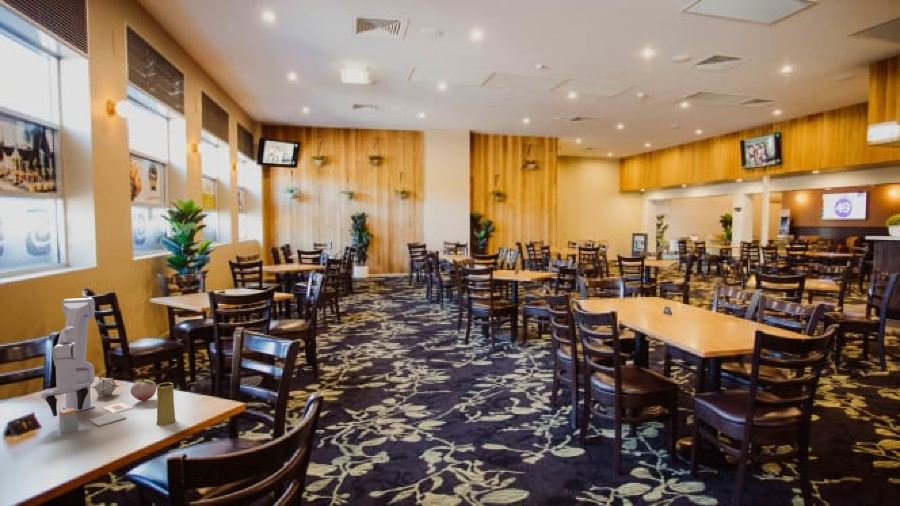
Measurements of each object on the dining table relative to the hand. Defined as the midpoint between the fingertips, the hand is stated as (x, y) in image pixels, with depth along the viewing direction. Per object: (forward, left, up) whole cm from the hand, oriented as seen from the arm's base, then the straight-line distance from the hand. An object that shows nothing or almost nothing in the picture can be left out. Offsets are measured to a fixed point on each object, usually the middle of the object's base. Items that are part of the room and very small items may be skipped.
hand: (67, 412), depth 184 cm
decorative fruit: (-2, +27, -4) cm, 28 cm away
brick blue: (+8, -2, -4) cm, 9 cm away
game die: (-22, +20, -4) cm, 30 cm away
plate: (+8, +10, -4) cm, 13 cm away
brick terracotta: (0, 0, -4) cm, 4 cm away
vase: (+28, +22, -4) cm, 36 cm away
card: (-2, +17, -4) cm, 18 cm away
